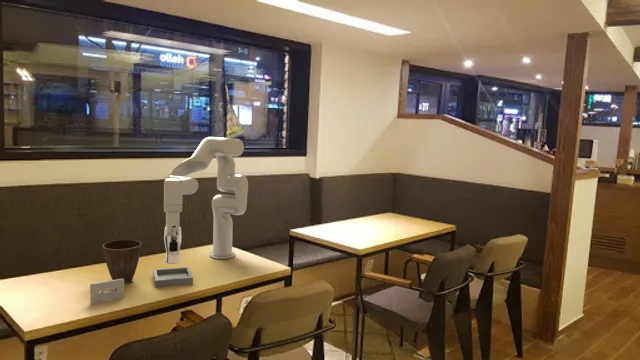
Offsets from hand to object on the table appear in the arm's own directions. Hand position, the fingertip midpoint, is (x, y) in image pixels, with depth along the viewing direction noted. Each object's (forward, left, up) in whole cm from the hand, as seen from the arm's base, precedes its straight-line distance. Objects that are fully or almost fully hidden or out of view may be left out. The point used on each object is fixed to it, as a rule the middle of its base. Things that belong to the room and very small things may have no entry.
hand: (172, 248), depth 203 cm
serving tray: (0, 0, -14) cm, 14 cm away
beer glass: (0, 0, -6) cm, 6 cm away
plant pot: (-4, -20, -14) cm, 25 cm away
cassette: (+17, -25, -14) cm, 33 cm away
